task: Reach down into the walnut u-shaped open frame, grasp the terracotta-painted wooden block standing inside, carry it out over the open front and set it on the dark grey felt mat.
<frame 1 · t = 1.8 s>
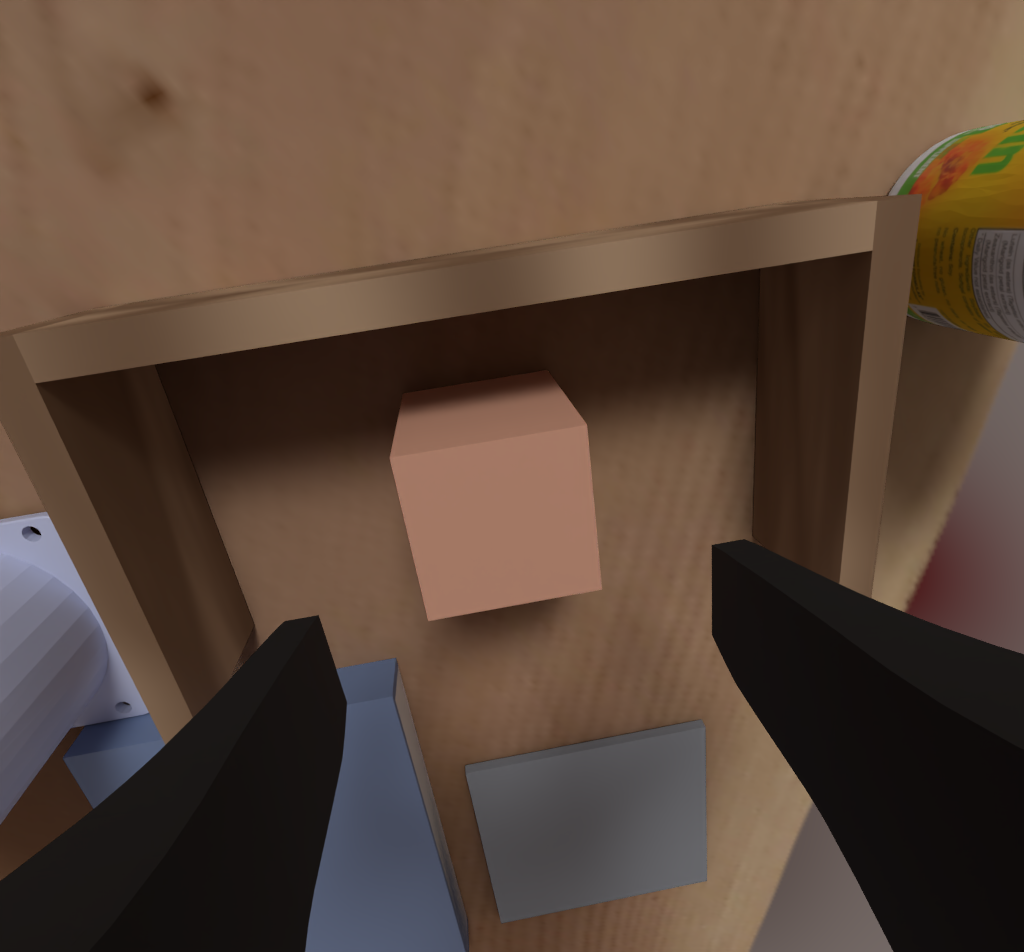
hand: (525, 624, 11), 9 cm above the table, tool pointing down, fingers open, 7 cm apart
felt mat: (594, 823, 27), on the table
supplement bottle: (945, 230, 18), on the table
navy book: (309, 819, 26), on the table
walnut u-shaped open frame: (484, 435, 19), on the table
terracotta block: (486, 448, 19), on the table
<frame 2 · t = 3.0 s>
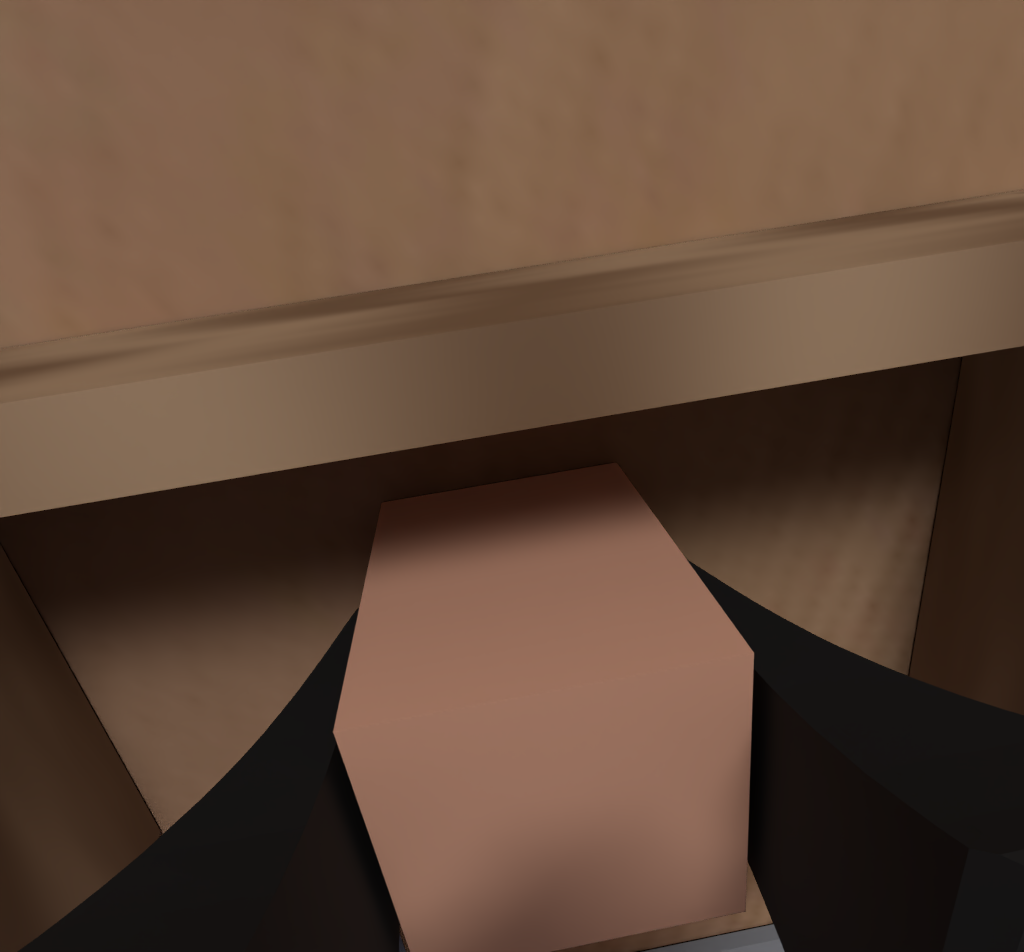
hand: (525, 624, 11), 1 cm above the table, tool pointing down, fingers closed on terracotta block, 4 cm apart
walnut u-shaped open frame: (512, 561, 12), on the table
terracotta block: (516, 581, 12), on the table, touching gripper
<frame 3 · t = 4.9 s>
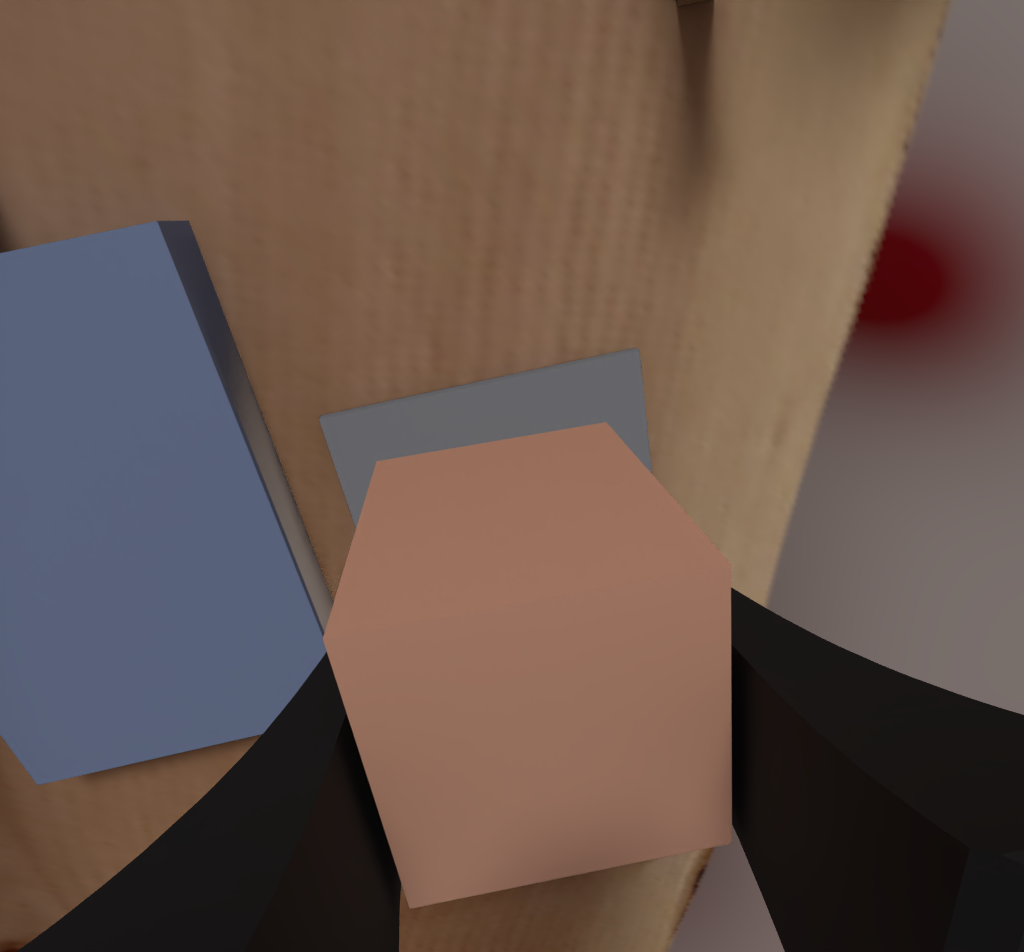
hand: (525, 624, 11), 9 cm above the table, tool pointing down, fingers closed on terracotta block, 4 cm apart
felt mat: (509, 520, 21), on the table
navy book: (127, 514, 20), on the table
terracotta block: (509, 543, 12), point 7 cm above the table, touching gripper
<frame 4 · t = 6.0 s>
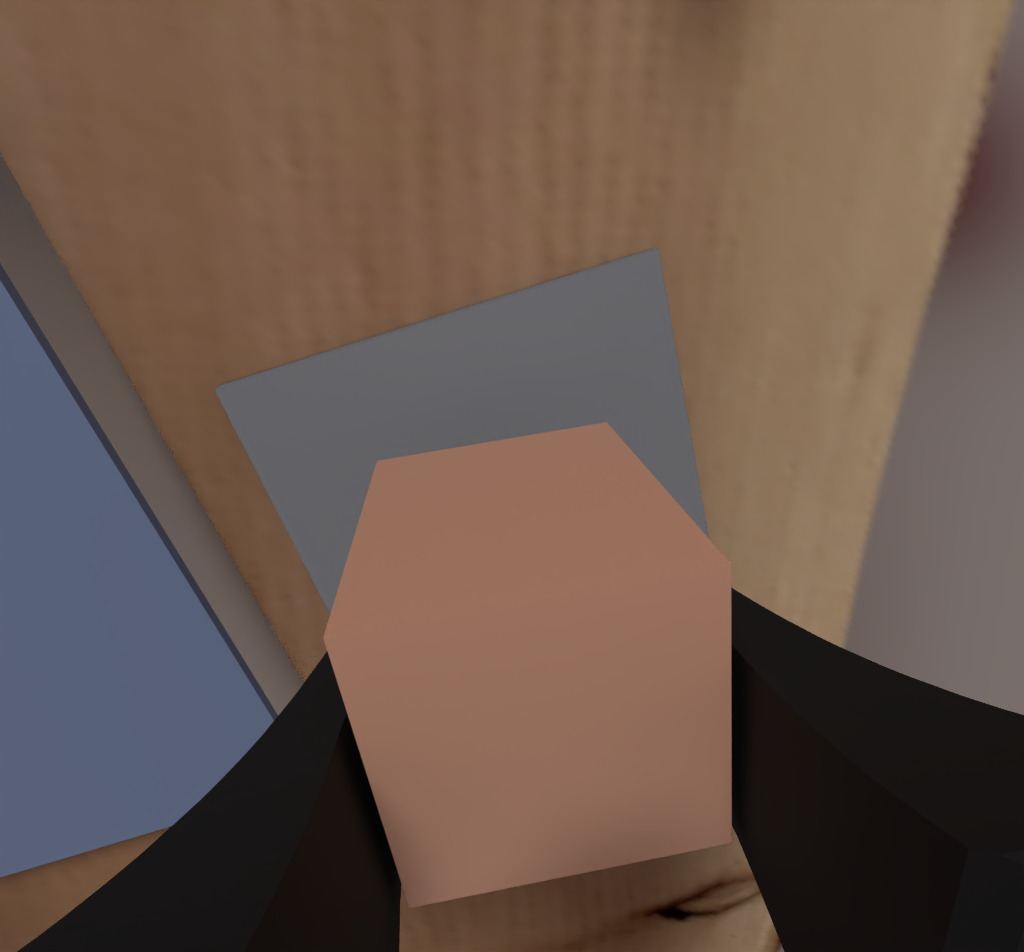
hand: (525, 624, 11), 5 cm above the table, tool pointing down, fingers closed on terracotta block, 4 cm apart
felt mat: (500, 509, 15), on the table
terracotta block: (509, 542, 12), point 3 cm above the table, touching gripper
when the fingers open (3 cm above the table, at t = 6.9 s): terracotta block stays where it is, resting on felt mat.
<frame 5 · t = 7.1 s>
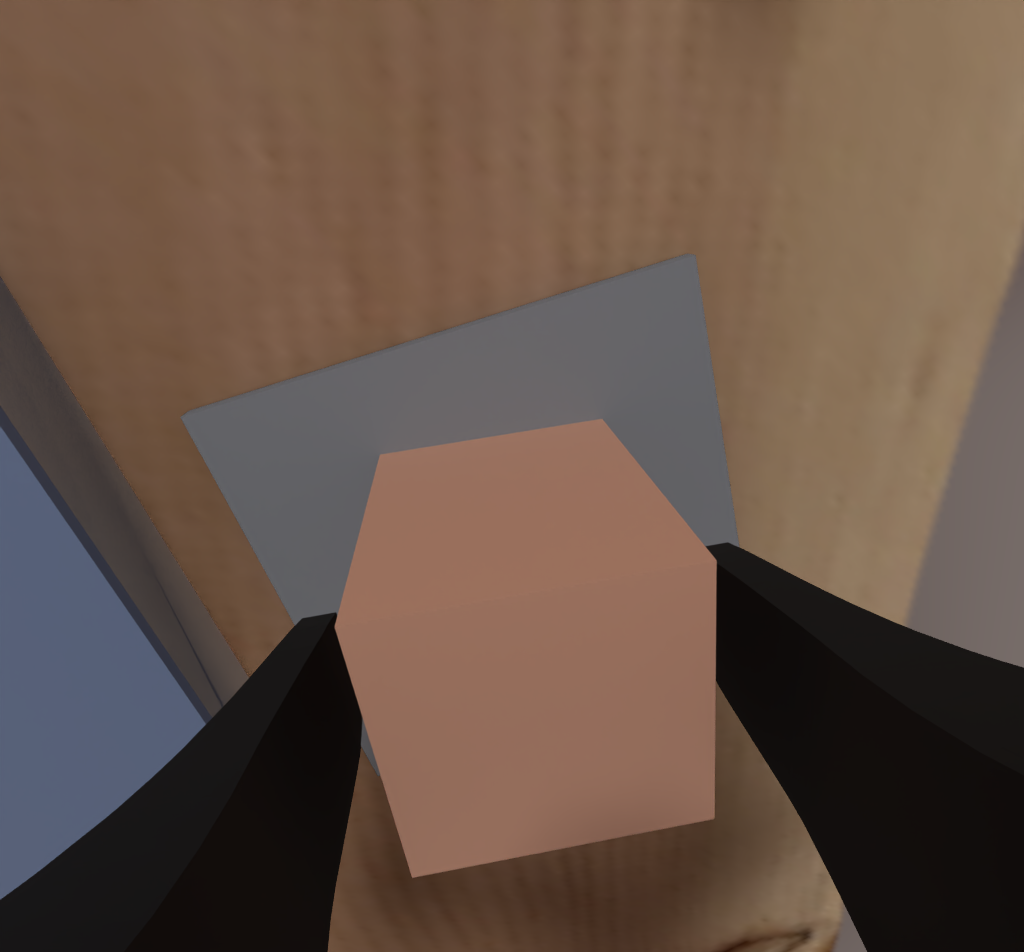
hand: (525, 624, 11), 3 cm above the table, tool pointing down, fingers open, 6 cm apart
felt mat: (509, 548, 13), on the table
terracotta block: (507, 534, 13), resting on felt mat
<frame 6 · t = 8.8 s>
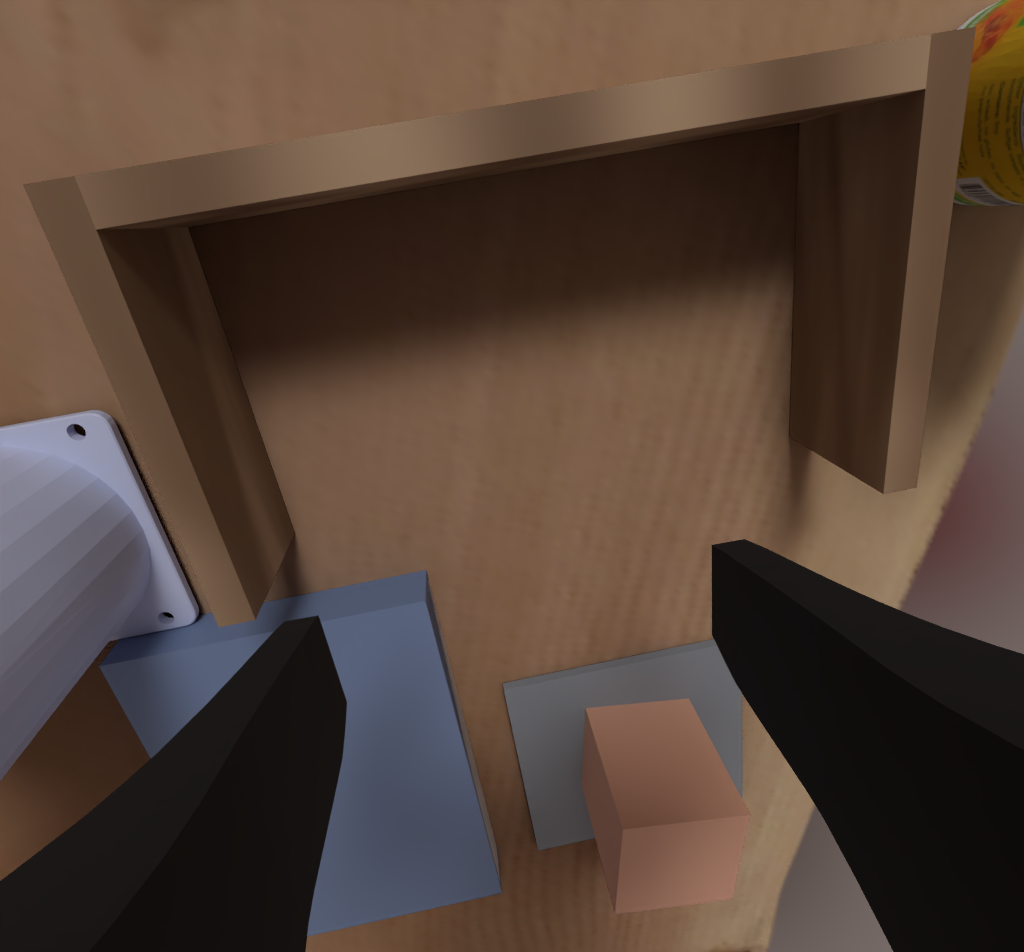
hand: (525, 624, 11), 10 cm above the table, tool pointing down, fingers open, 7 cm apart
felt mat: (630, 745, 27), on the table
supplement bottle: (982, 110, 18), on the table
navy book: (339, 745, 26), on the table
walnut u-shaped open frame: (523, 329, 19), on the table
terracotta block: (633, 742, 26), resting on felt mat
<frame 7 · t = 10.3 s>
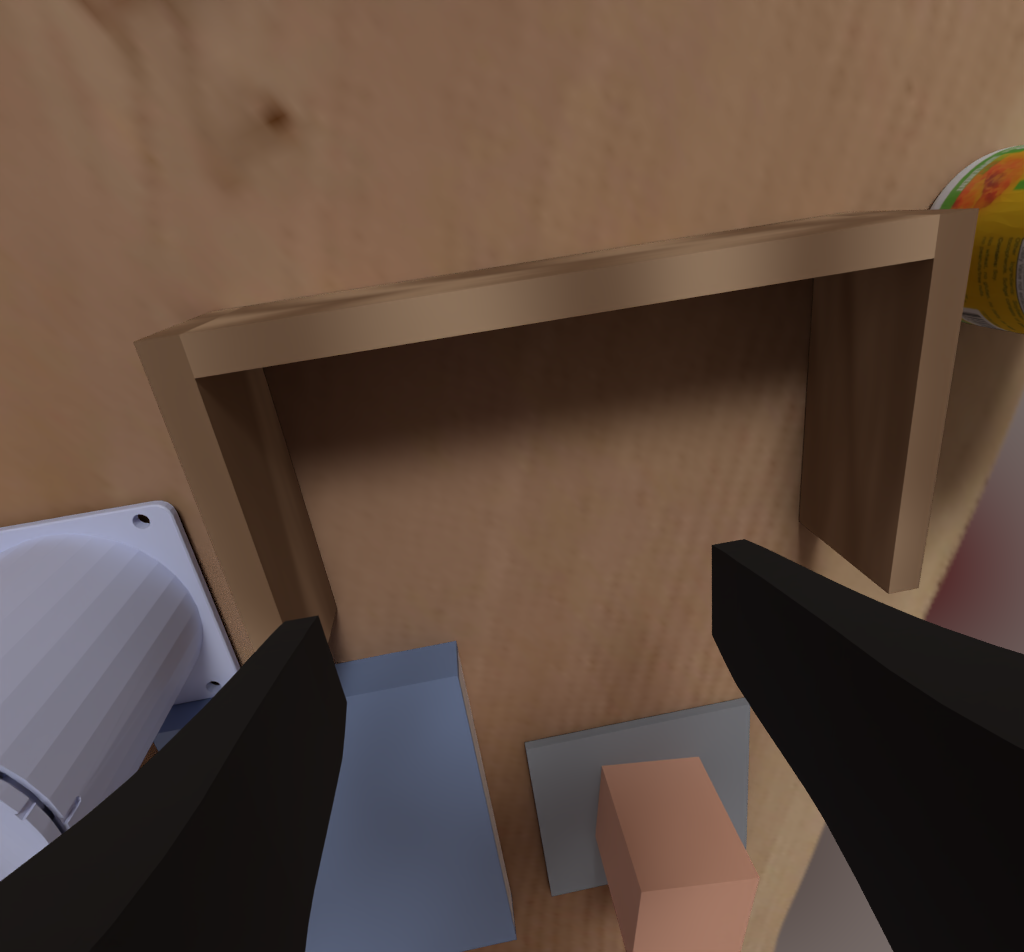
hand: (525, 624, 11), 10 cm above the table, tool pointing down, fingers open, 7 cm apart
felt mat: (642, 798, 28), on the table
supplement bottle: (980, 238, 20), on the table
navy book: (365, 798, 27), on the table
walnut u-shaped open frame: (557, 428, 21), on the table
terracotta block: (645, 797, 28), resting on felt mat
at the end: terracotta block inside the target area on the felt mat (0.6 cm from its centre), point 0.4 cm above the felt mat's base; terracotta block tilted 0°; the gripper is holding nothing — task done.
